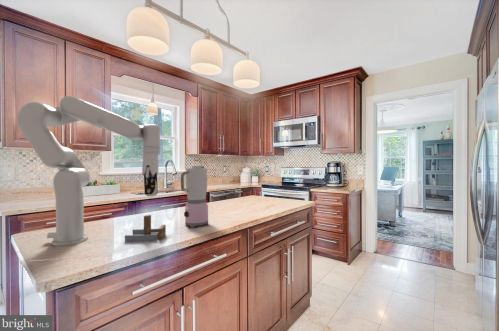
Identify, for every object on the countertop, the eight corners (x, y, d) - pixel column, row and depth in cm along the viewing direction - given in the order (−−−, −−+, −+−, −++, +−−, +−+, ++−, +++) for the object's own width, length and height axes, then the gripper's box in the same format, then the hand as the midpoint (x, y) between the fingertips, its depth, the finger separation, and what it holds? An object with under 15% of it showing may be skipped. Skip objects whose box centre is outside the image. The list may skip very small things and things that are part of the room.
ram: (142, 240, 102) (141, 217, 102) (147, 235, 109) (147, 213, 109) (161, 239, 103) (161, 216, 103) (165, 234, 110) (165, 213, 110)
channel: (124, 242, 100) (124, 235, 100) (133, 235, 109) (133, 229, 109) (156, 241, 101) (156, 234, 101) (162, 234, 111) (162, 228, 111)
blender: (200, 220, 138) (199, 165, 137) (213, 224, 129) (212, 165, 129) (175, 226, 126) (174, 166, 126) (187, 230, 118) (187, 166, 117)
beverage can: (160, 195, 112) (159, 169, 111) (148, 196, 107) (146, 170, 107) (154, 194, 115) (153, 169, 115) (142, 195, 111) (141, 170, 111)
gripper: (148, 152, 119) (148, 188, 119) (136, 150, 103) (136, 192, 103) (163, 152, 120) (163, 188, 120) (154, 150, 104) (154, 192, 104)
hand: (151, 189), depth 111 cm, fingers closed on beverage can, 3 cm apart
